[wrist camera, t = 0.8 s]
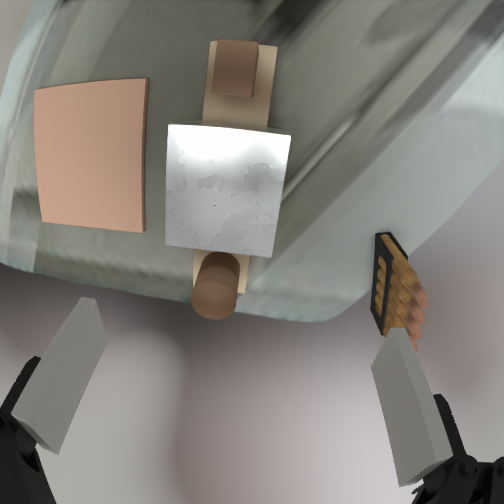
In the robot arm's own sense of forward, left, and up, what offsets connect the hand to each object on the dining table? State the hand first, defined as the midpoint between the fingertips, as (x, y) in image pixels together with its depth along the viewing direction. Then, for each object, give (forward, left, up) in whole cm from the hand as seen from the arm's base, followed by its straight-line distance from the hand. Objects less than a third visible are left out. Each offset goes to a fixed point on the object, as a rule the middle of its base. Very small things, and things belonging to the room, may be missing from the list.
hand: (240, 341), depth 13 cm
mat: (-3, -18, -20) cm, 27 cm away
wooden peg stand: (-3, -2, -20) cm, 20 cm away
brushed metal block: (-3, -2, -15) cm, 15 cm away
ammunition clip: (+7, +16, -20) cm, 26 cm away
